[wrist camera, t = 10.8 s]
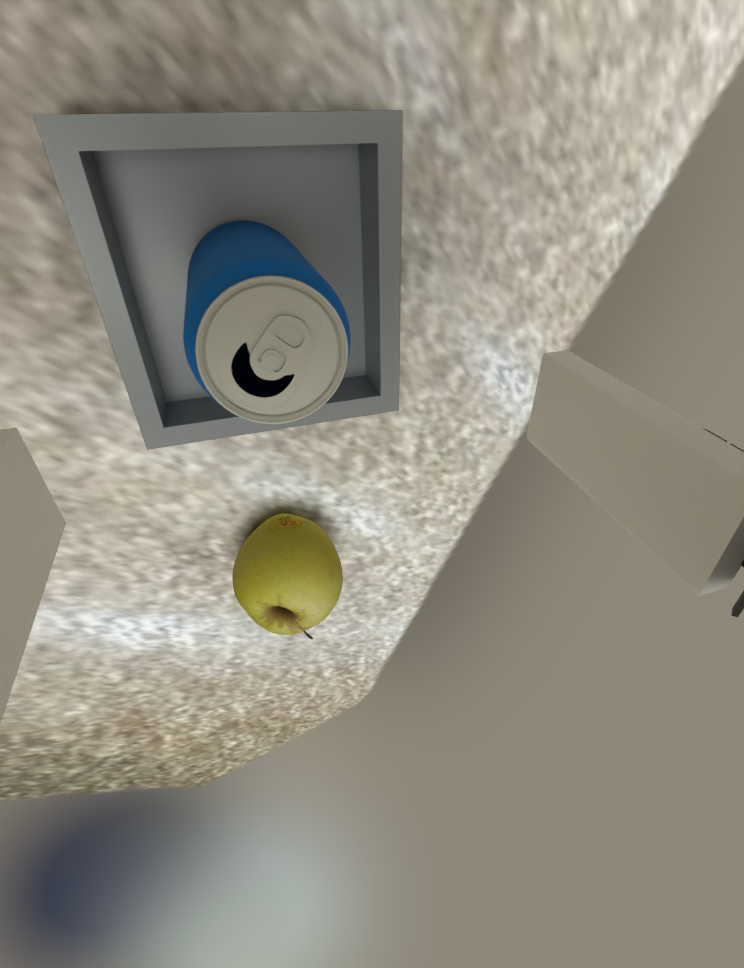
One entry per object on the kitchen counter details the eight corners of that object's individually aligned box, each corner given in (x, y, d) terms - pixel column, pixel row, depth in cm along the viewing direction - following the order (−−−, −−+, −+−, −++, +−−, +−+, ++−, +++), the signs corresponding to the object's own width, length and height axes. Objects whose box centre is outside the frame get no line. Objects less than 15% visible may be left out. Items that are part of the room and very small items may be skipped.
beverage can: (165, 294, 26) (147, 378, 17) (229, 189, 25) (249, 218, 15) (264, 360, 30) (294, 459, 21) (327, 272, 28) (391, 337, 19)
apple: (343, 493, 37) (368, 615, 31) (320, 549, 43) (337, 661, 37) (237, 489, 34) (242, 622, 28) (227, 549, 40) (229, 670, 34)
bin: (56, 119, 22) (33, 114, 19) (376, 114, 25) (402, 110, 22) (152, 418, 31) (147, 449, 28) (380, 385, 34) (399, 410, 31)
